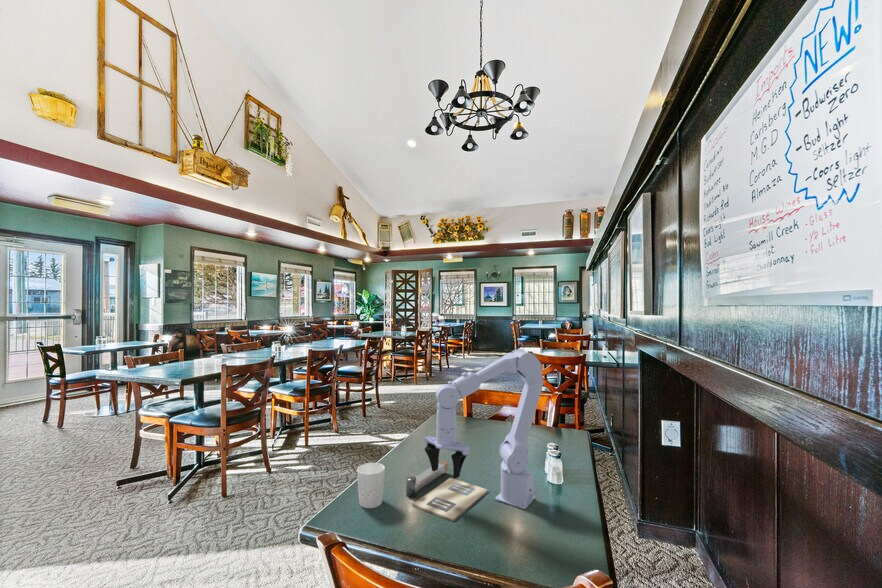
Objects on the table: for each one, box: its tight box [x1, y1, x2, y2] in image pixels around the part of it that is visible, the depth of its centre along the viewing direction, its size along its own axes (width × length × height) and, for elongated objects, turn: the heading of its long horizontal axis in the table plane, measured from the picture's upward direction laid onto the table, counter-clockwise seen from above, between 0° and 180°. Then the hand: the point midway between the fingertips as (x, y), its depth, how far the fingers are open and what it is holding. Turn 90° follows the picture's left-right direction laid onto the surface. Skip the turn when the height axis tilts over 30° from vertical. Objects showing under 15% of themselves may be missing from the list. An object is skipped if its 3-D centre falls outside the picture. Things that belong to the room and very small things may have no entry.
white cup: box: [357, 462, 386, 509], centre depth 115 cm, size 8×8×10 cm
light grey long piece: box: [405, 459, 450, 498], centre depth 126 cm, size 20×3×5 cm, turn 147°
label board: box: [411, 477, 489, 522], centre depth 117 cm, size 14×20×1 cm
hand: (445, 473), depth 115 cm, fingers open, 7 cm apart
